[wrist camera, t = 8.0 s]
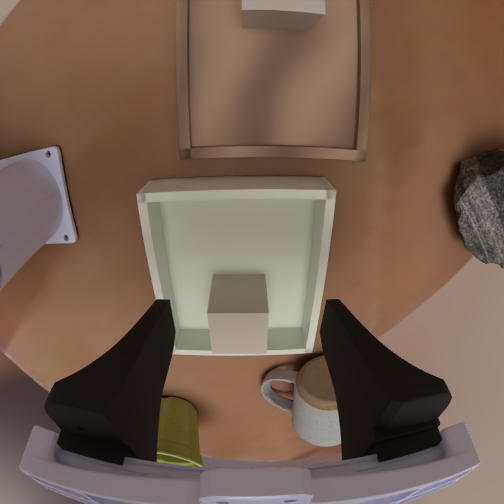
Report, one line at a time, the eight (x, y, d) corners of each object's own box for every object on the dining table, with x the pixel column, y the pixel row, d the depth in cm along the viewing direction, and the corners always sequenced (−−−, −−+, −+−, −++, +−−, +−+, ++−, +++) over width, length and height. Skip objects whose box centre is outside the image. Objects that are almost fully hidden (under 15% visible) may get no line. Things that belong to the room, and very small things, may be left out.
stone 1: (216, 313, 25) (212, 353, 21) (212, 274, 23) (207, 313, 19) (263, 313, 25) (266, 353, 21) (265, 274, 23) (269, 312, 19)
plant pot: (191, 430, 37) (186, 482, 30) (129, 407, 34) (116, 461, 27) (223, 404, 33) (221, 467, 26) (151, 377, 31) (136, 443, 23)
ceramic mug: (360, 343, 28) (380, 404, 22) (352, 387, 32) (365, 441, 26) (256, 356, 29) (257, 422, 22) (264, 398, 33) (266, 455, 26)
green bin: (175, 329, 27) (170, 354, 24) (150, 179, 20) (136, 193, 17) (306, 328, 27) (311, 352, 24) (324, 176, 20) (336, 190, 17)
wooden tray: (183, 156, 19) (180, 159, 18) (181, -34, 12) (178, -39, 11) (360, 157, 19) (365, 161, 18) (362, -26, 12) (367, -30, 11)
